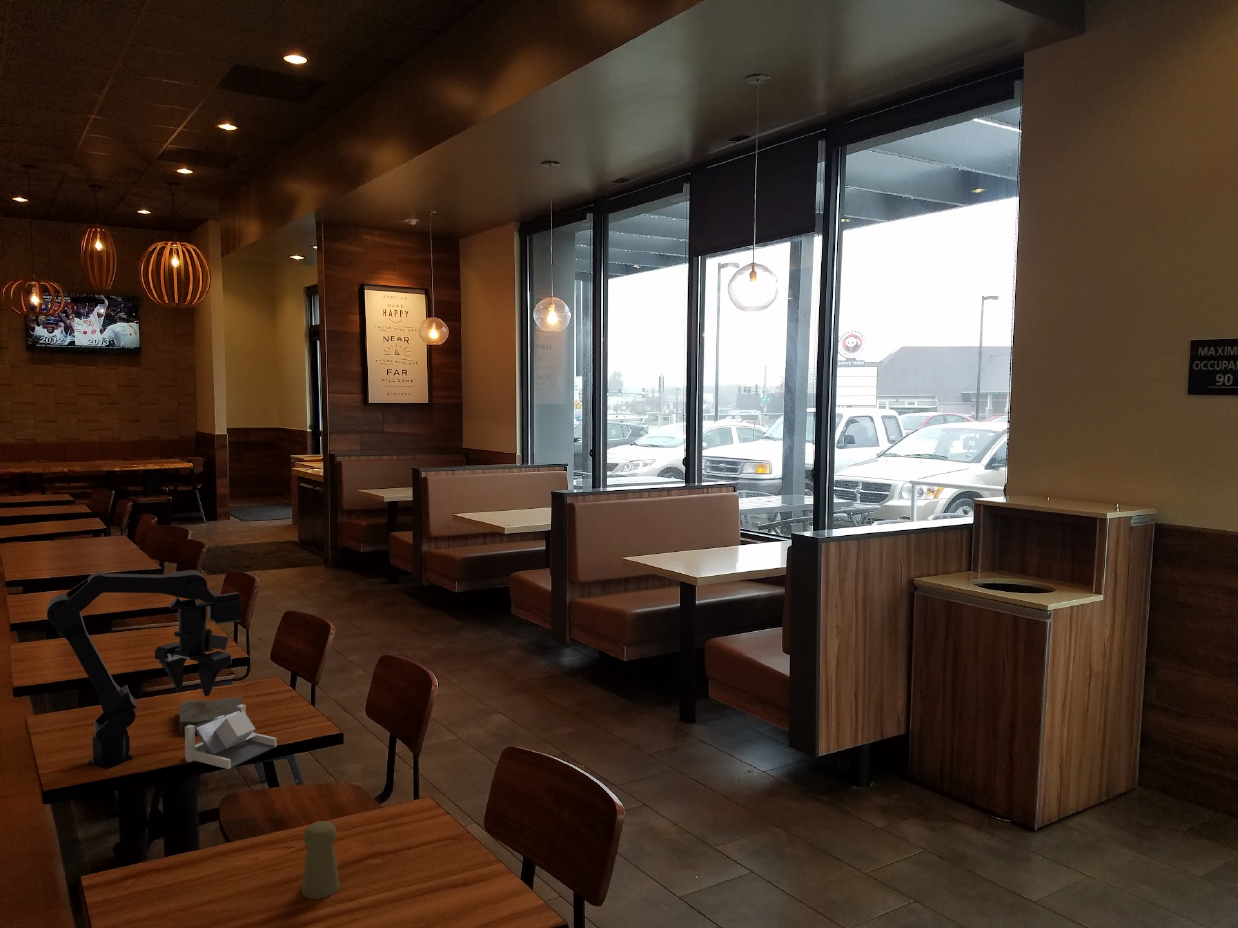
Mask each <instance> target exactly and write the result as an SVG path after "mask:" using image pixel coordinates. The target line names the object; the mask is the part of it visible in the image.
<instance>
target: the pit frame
mask: <svg viewBox="0 0 1238 928" xmlns="http://www.w3.org/2000/svg"><path fill="white" fill-rule="evenodd" d="M237 709H240V712H243V711H244V712H245V714H246V715H247V705H246V704H243V703H242V704H241V705H238V706H237ZM254 734H255V735H256V736H255V737H254V738H252V739H250V740H247V741H245V742H243V743H241V744H239V745H236V746H234V747H232V748H230V749H227V750H225V751H223V752H221V753H219V754H216V755H211V754H210V753H209V751H208V750H207V748H206V747H205V745H204V744H203V742H202V741H201V742H199V743H197V744H196V732H195V726H194V725H188V726H186V727H185V732H184V743H185V744H184V747H185V748H184V757H185V762H189V763H191V762H193V761H195V762H199V763H203V764H208V765H211V766H214V767H218V768H223V769H226V770H229V769H232V768H235V767H237V766H238V765H241V764H243V763H245V762H247V761H249V760H252V759H254V758H255V757H257V756H260V755H262V754H264V753H266V752H268V751H270V750H272V749H274V748H276V747H277V745H278V743H277V739H278V738H277V737H273V736H269V735H264V734H260V733H256V732H254Z"/></svg>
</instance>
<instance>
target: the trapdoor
mask: <svg viewBox="0 0 1238 928" xmlns="http://www.w3.org/2000/svg"><path fill="white" fill-rule="evenodd" d="M238 713H241V712H240V709H236V710H233V711H231V712H228V713H226V714H223V715H221V716H218V717H216V718H213V719H211V720H208V721H206V722H203V723H201V724H199V725H196V726H195V731H196V732H195V734H197V736H198V737H199V739H200V741H201V742H203V744H204V745H205V747H206V748H207V750H208V751H209V753H210V754H211V755H216V754H219V753H221V752H223V751H225V750H227V749H230V748H232V747H234V746H236V745H239V744H241V743H243V742H245V741H247V740H250V739H252V738H254V737H255V736H256V735H255V734H254V733H255V732H254V731H253V732H252V733H251V734H250V735H249V736H248V737H247V739H246V740H245V741H243V742H241V743H239V744H236V745H234V746H232V747H230V748H227V749H226V747H225V746H224V744H223V743H222V741H221V739H220V738H219V736H218V735H217V733H216V732H215V730H216V729H217V728H218V727H219V726H220V725H221V724H222V722H223V721H224V720H225V719H226V718H228V717H231V716H233V715H236V714H238ZM208 751H207V752H208Z"/></svg>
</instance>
